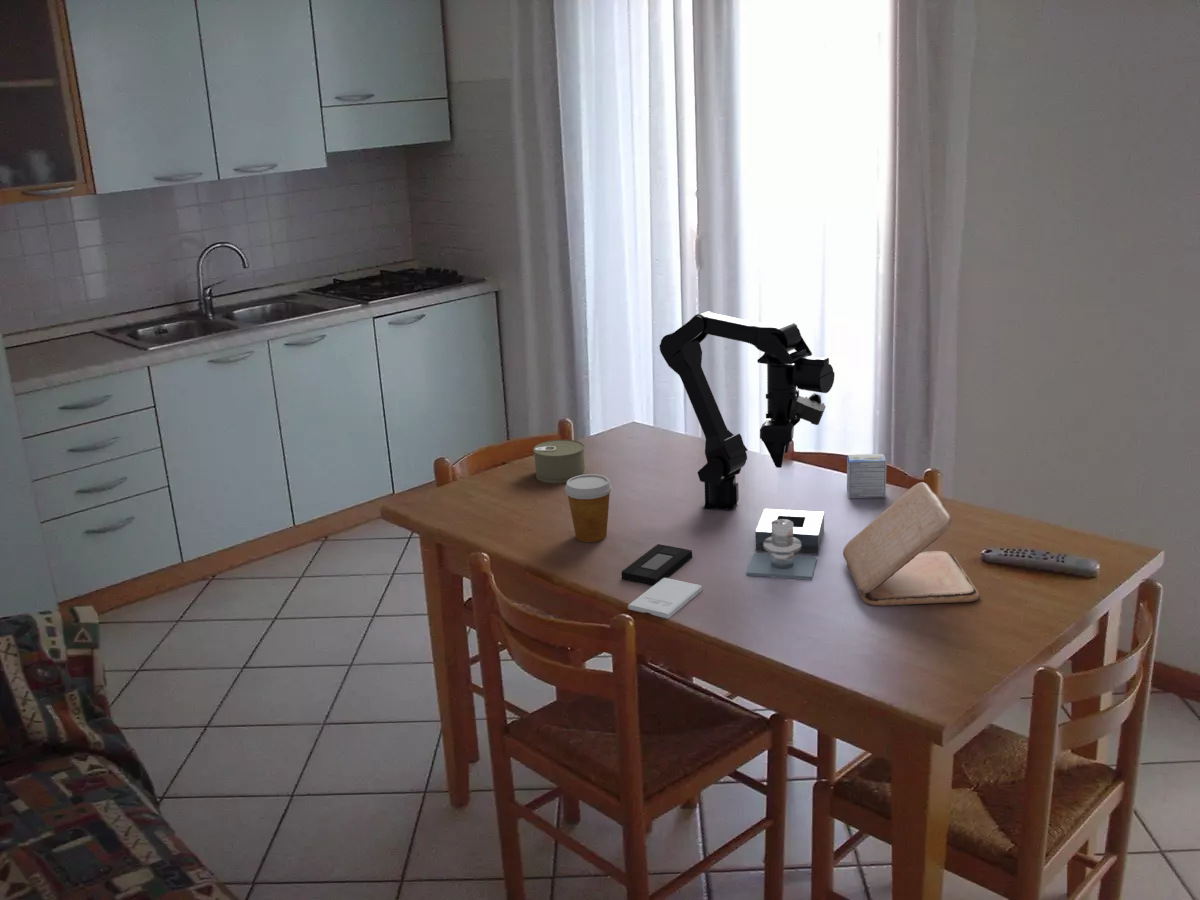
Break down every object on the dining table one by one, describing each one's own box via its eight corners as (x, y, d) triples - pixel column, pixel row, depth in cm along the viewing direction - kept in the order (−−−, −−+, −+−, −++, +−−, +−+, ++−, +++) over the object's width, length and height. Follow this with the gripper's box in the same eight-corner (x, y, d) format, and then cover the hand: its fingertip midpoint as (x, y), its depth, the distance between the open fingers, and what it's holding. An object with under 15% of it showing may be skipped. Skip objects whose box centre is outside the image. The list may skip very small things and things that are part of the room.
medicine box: (883, 491, 249) (884, 453, 247) (886, 498, 245) (887, 460, 242) (846, 491, 250) (846, 454, 247) (848, 499, 246) (849, 461, 243)
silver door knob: (760, 570, 213) (760, 528, 210) (766, 555, 219) (766, 514, 216) (798, 573, 211) (798, 531, 208) (803, 558, 217) (803, 517, 214)
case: (840, 560, 217) (841, 481, 212) (952, 555, 216) (956, 476, 211) (860, 610, 198) (861, 524, 193) (983, 605, 197) (988, 519, 192)
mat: (746, 575, 213) (746, 572, 212) (753, 555, 221) (753, 552, 221) (811, 579, 209) (811, 576, 209) (816, 559, 217) (816, 556, 217)
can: (585, 482, 265) (583, 454, 263) (533, 485, 265) (531, 457, 263) (586, 465, 276) (584, 438, 274) (536, 467, 276) (534, 440, 274)
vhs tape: (621, 581, 214) (620, 571, 213) (658, 553, 226) (657, 543, 225) (656, 589, 210) (656, 579, 210) (692, 559, 222) (692, 550, 221)
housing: (755, 550, 223) (755, 531, 222) (764, 526, 234) (764, 508, 233) (818, 554, 220) (818, 535, 218) (823, 530, 231) (824, 511, 229)
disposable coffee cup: (621, 530, 236) (619, 475, 232) (602, 548, 228) (599, 491, 224) (580, 525, 240) (576, 471, 236) (560, 542, 232) (556, 487, 228)
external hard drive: (702, 593, 208) (668, 621, 198) (663, 584, 212) (628, 611, 202) (702, 585, 207) (667, 613, 197) (662, 576, 212) (627, 603, 202)
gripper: (817, 400, 218) (816, 477, 223) (827, 374, 234) (826, 446, 239) (759, 398, 221) (759, 474, 226) (772, 373, 238) (773, 444, 243)
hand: (781, 459), depth 233 cm, fingers open, 9 cm apart
